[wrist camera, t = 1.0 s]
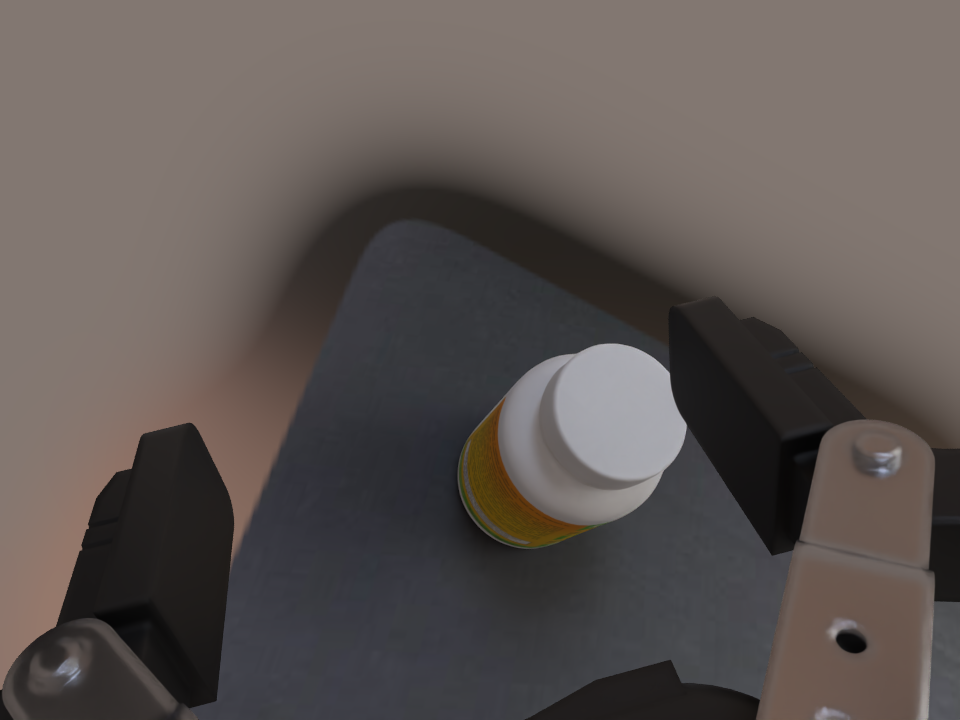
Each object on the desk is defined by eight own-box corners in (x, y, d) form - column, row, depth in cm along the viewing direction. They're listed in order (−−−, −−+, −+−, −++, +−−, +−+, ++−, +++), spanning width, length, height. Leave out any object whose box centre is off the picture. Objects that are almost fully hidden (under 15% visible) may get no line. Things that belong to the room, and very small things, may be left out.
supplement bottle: (534, 581, 29) (645, 551, 20) (425, 485, 29) (488, 414, 21) (613, 474, 31) (744, 406, 22) (511, 386, 32) (602, 283, 23)
